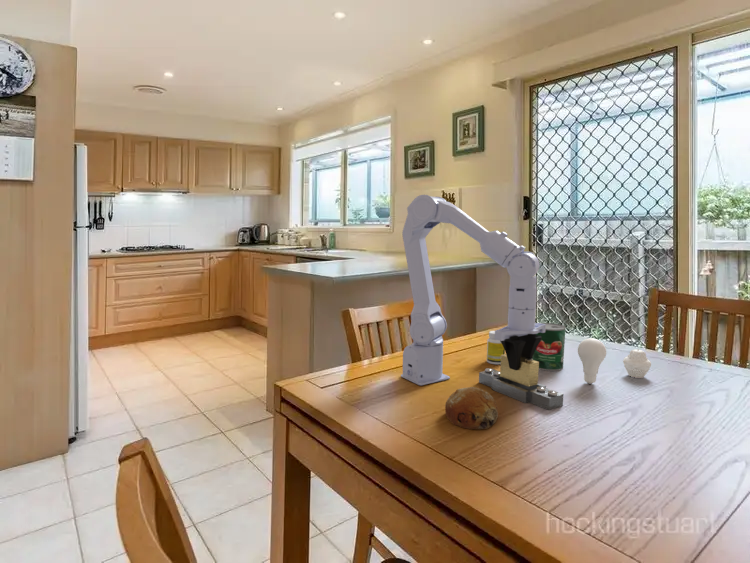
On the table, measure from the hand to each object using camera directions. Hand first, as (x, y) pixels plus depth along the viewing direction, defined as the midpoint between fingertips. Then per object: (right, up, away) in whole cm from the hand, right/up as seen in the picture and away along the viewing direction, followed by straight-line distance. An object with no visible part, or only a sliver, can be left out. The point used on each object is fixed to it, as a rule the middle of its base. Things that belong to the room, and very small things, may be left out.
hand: (519, 367), depth 102 cm
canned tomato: (+14, -4, +20) cm, 25 cm away
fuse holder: (0, -6, +1) cm, 6 cm away
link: (0, -3, +1) cm, 3 cm away
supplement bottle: (+1, -3, +24) cm, 24 cm away
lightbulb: (+19, -5, +7) cm, 21 cm away
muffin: (+33, -5, +13) cm, 36 cm away
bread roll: (-13, -8, -13) cm, 20 cm away
